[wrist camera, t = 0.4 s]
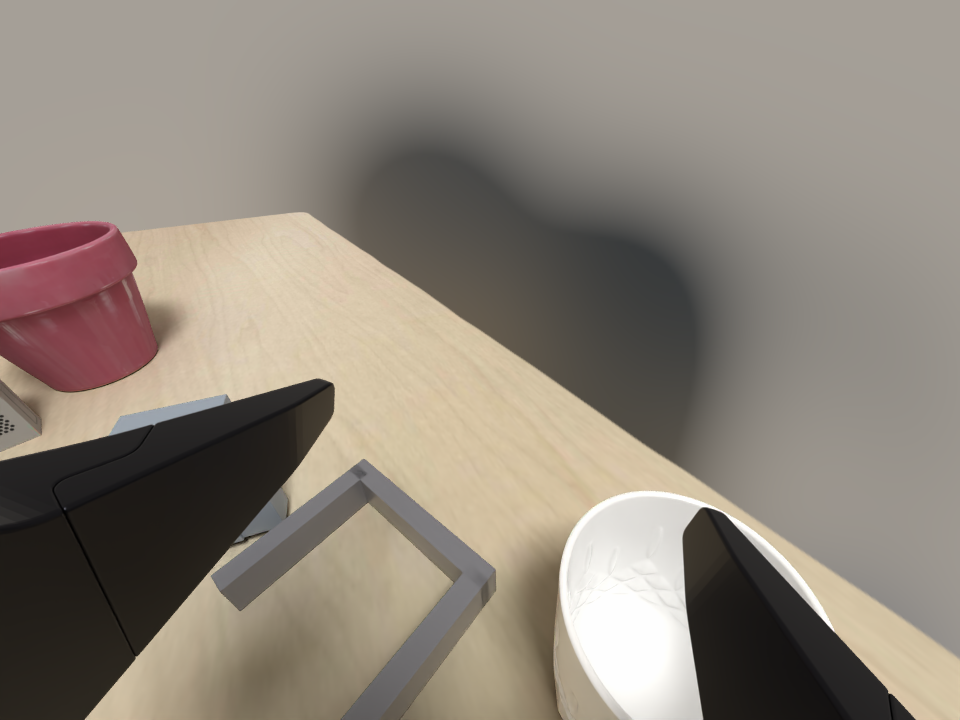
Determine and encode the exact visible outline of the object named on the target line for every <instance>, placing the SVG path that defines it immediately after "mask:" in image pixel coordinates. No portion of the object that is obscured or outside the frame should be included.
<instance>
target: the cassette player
mask: <svg viewBox="0 0 960 720" xmlns="http://www.w3.org/2000/svg"><path fill="white" fill-rule="evenodd" d="M41 435H42V431H41V418H40V417H39V416H38V415H37V414H36V413H35V412H34V411H33V410H31V409H30V408H29V407H28V406H27V405H26V404H25V403H24V402H23V401H22V400H21V399H20V398H19V397H18V396H17V395H16V394H15V393H14V392H13V391H12V390H11V389H10V388H9V387H8V386H7V385H6V384H5V383H4V382H2V381H1V380H0V452H1V451H4V450H6V449H9V448H11V447H14V446H16V445H19V444H21V443H24V442H26V441H28V440H31V439H33V438H36V437H38V436H41Z"/></svg>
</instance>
